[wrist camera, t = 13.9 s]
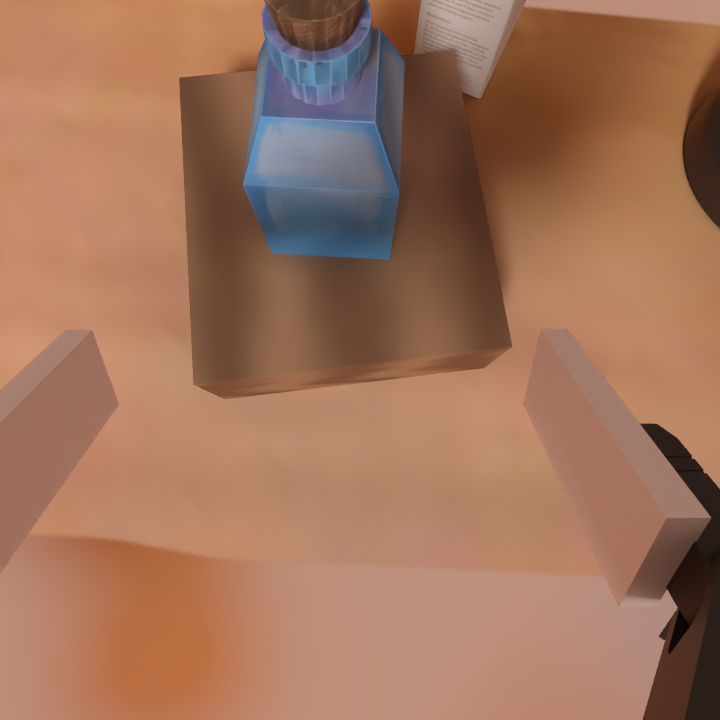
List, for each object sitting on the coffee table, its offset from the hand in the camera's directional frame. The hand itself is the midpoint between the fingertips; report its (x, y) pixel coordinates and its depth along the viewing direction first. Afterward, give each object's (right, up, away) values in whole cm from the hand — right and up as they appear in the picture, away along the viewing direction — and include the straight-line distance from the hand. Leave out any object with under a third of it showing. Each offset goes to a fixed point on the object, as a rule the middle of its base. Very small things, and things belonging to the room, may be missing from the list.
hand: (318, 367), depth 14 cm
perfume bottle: (0, +9, +11) cm, 14 cm away
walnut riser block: (0, +7, +17) cm, 18 cm away
